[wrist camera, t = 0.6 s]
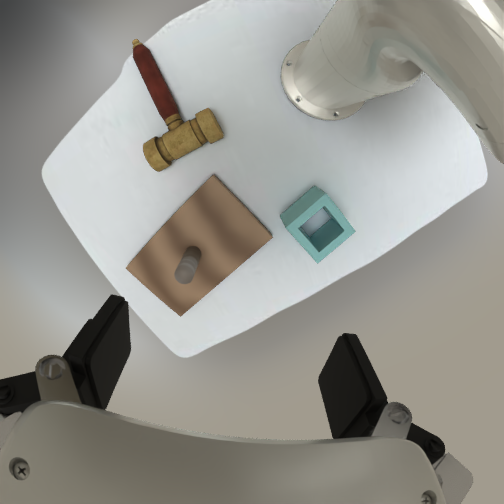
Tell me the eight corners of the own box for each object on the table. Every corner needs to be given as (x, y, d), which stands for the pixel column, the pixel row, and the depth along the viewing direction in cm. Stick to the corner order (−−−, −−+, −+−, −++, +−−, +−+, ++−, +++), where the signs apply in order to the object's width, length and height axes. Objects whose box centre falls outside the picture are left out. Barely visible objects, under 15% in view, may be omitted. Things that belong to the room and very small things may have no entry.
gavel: (99, 54, 27) (160, 16, 25) (113, 62, 31) (168, 29, 29) (152, 173, 33) (222, 135, 31) (163, 171, 37) (226, 138, 35)
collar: (314, 185, 38) (325, 193, 32) (341, 218, 40) (355, 231, 34) (279, 215, 39) (285, 227, 34) (308, 247, 41) (317, 263, 36)
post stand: (213, 174, 37) (204, 182, 29) (271, 234, 40) (278, 257, 33) (128, 264, 42) (107, 289, 34) (182, 311, 45) (171, 343, 37)
